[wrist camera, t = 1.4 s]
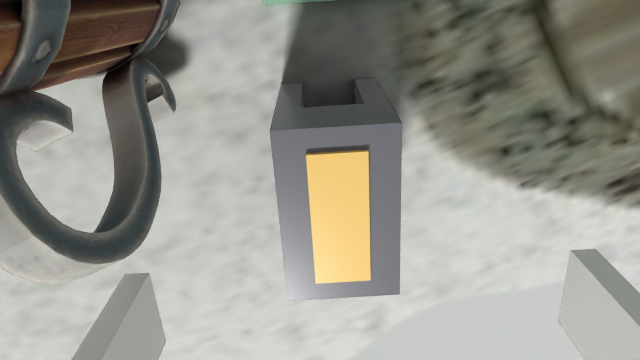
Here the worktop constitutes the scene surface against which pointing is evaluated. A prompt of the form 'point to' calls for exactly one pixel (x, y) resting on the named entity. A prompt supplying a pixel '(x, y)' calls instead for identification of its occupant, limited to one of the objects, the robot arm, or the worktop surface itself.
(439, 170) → the worktop surface
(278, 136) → the grey slotted block
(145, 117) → the mug
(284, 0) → the board
